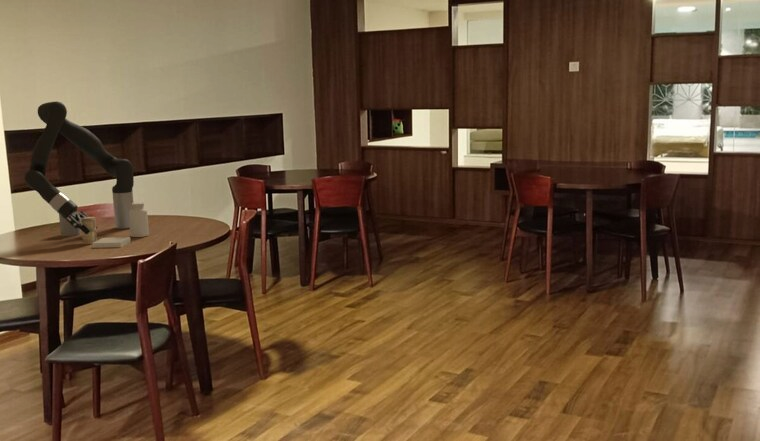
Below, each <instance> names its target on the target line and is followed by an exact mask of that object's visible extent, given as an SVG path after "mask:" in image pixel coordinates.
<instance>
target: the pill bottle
mask: <svg viewBox="0 0 760 441" xmlns="http://www.w3.org/2000/svg"><path fill="white" fill-rule="evenodd" d="M131 206H132V209H131V210H130V211H129V222H130V228H129V232H130V233H129V234H130V238H143V237H144V238H146V237H148V236H150V234H149V218H148V210H147V209H145V208H144V206H145V204H144V202H133V203H132V204H131Z"/></svg>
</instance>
